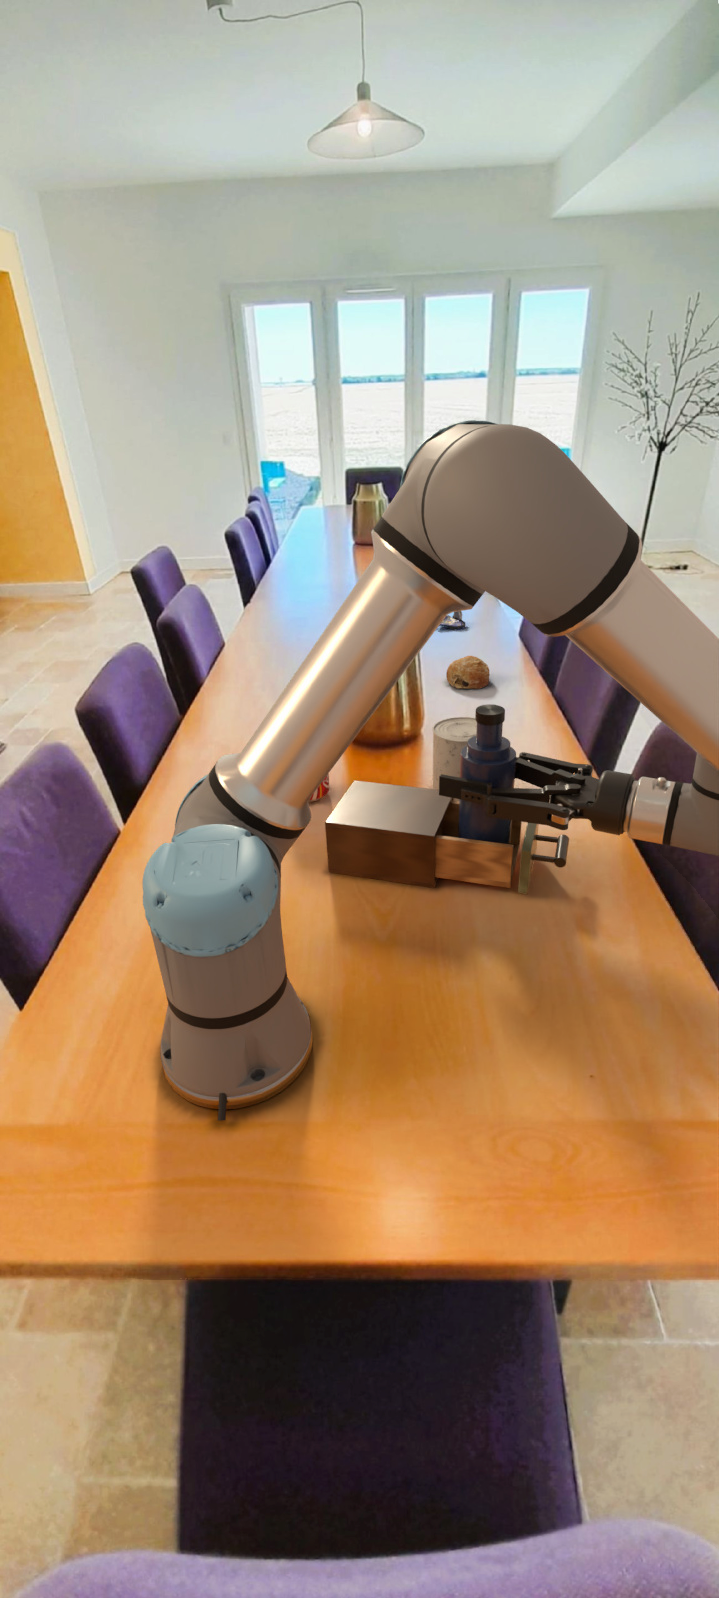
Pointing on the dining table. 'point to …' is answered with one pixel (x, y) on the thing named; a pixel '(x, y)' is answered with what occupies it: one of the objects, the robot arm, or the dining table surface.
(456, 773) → the white tin can
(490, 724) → the bottle
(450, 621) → the snack package
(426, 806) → the bronze metal block
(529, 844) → the drawer
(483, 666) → the bread roll
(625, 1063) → the dining table surface
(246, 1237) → the dining table surface
